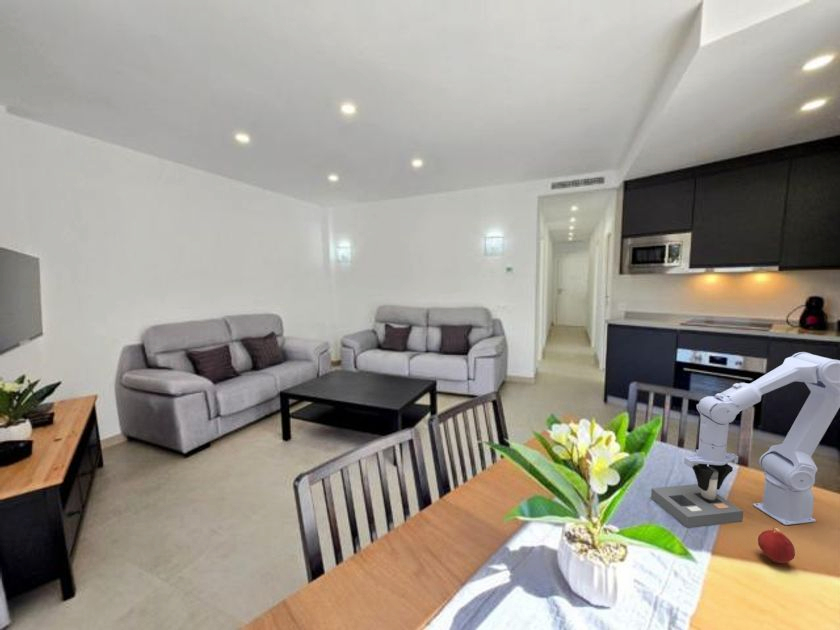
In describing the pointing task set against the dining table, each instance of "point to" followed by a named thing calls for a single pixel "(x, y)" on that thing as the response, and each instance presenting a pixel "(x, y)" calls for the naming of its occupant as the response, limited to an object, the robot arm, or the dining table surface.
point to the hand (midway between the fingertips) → (708, 488)
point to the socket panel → (695, 506)
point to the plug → (711, 486)
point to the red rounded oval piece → (776, 546)
